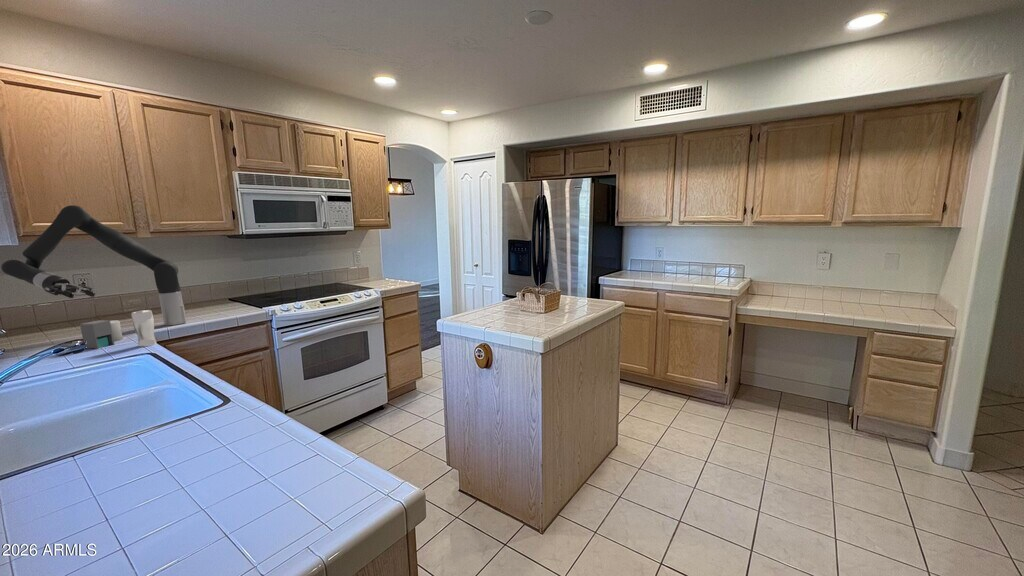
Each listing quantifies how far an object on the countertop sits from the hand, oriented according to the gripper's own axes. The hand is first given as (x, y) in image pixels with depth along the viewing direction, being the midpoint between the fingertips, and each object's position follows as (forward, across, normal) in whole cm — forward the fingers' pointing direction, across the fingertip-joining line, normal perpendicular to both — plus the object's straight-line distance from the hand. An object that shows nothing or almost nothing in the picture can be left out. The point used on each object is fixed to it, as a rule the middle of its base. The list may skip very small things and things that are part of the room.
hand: (83, 295), depth 183 cm
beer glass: (+37, -2, +9) cm, 38 cm away
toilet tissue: (+10, +6, +19) cm, 23 cm away
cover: (+18, -3, +17) cm, 25 cm away
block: (+18, -3, +17) cm, 25 cm away
